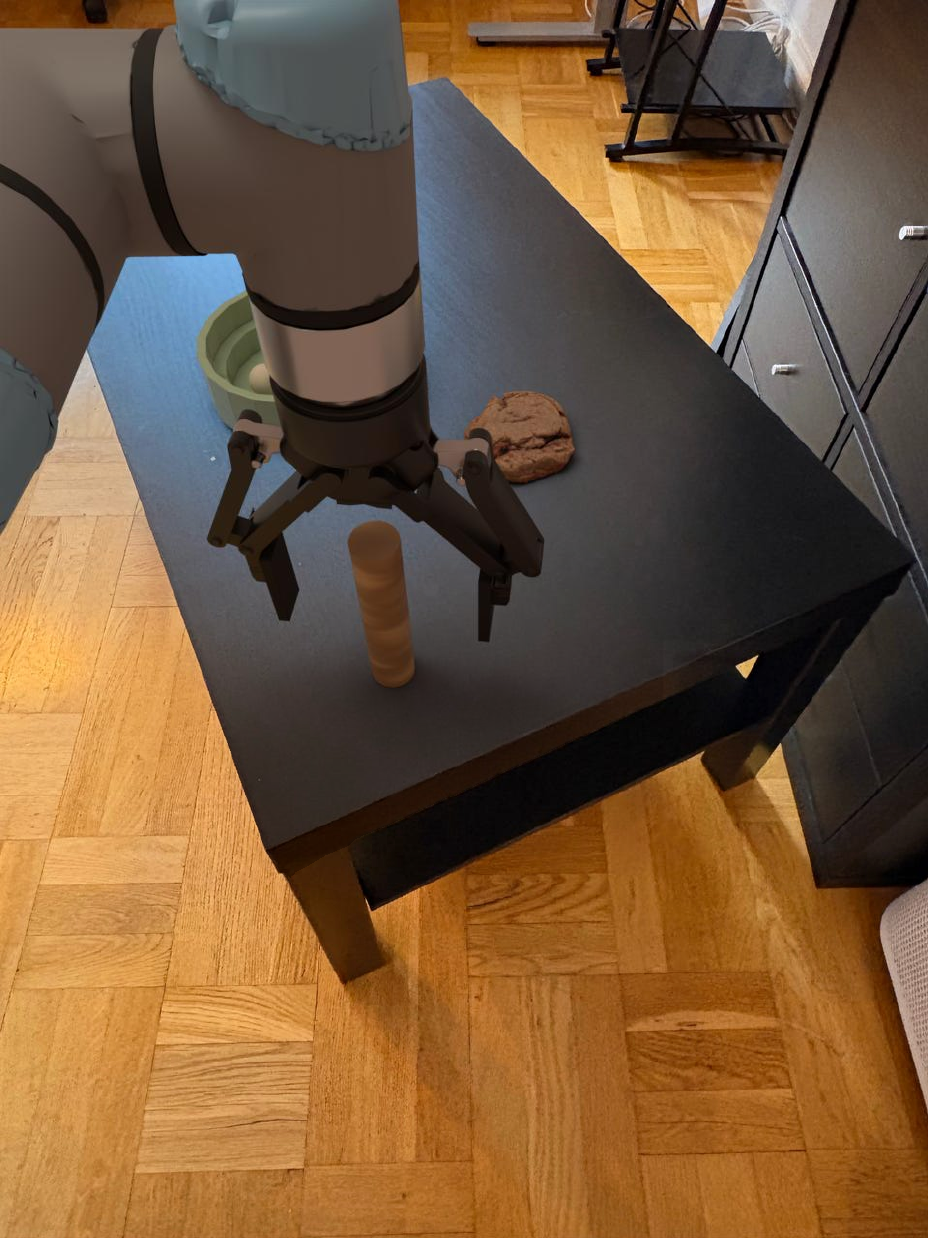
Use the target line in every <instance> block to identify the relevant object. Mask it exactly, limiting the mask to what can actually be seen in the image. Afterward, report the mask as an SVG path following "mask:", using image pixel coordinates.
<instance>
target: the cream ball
mask: <svg viewBox="0 0 928 1238" xmlns="http://www.w3.org/2000/svg"><path fill="white" fill-rule="evenodd" d="M249 383H250V386H251V388H252V390H253V391H254V392H255V393H256V394H264V395H273V393H272V389H271V385H270V381H269V373H268V371H267V369H266V367H265V364H259V365H257V366H255V367H254V368H253V369H252V371H251V372H250V375H249Z"/></svg>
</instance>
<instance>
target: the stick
mask: <svg viewBox="0 0 928 1238" xmlns="http://www.w3.org/2000/svg"><path fill="white" fill-rule="evenodd" d="M402 547H403V546H402V539H401V534H400V532H399V530H398V529H397V528H396V527H395V526H394V525H393V524H391V523H389V522H386V521H384V520H383V521H382V520H369V521H365V522H362V523H360V524H359V525H357V526H356V527H355V528H353V529H352V530H351V531H350V533H349V535H348V538H347V548H348V554H349V557H350V558H349V559H350V563H351V569H352V574H353V579H354V580H353V581H354V585H355V589H356V594H357V600H358V605H359V610H360V616H361V621H362V627H363V631H364V637H365V642H366V647H367V652H368V658H369V664H370V668H371V673H372V676H373V679H374V680H375V681H376V682H377V683H378V684H380V685H381V686H382V687H386V688H399V687H401V686H404V685H406V684H407V683H408V682H410V681H411V680H412V678H413V676H414V675H415V672H416V671H415V670H416V667H415V657H414V646H413V639H412V630H411V619H410V611H409V603H408V593H407V584H406V575H405V565H404V557H403V548H402Z"/></svg>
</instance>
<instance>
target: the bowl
mask: <svg viewBox="0 0 928 1238" xmlns="http://www.w3.org/2000/svg"><path fill="white" fill-rule="evenodd" d="M196 359H197V363H198V365H199V368H200V371H201V374H202V377H203V379H204V380H203V381H204V383H205V386H206V391H207V393H208V396H209V398H210V402H211V404H212V406H213V408H214V410H215V412H216V413H217V415H218V417H219V419H220V420H221V422H222V423H224V424H225V425H226V426H228V427H229V428H231V430H232V431H233V430H234V427H235V425H236V423H237V420H238V418H239V415H240V413H241V412H242V411H243V410H245V409H250V410H253V411H255V412H257V413H258V414H259V415H260V416H261V418H262V422H263V424H266V425H272V426H278V427H281V424H280V421H279V417H278V413H277V409H276V405H275V401H274V397H273V395H264V394H256V393H255V392H254V391H253V390H252V388H251V386H250V383H249V375H250V372H251V371H252V369H253V368H254V367H255V366H257V365H259V364H264V360H263V356H262V352H261V347H260V343H259V339H258V334H257V330H256V326H255V321H254V317H253V313H252V309H251V304H250V300H249V296H248V294H247V291H246V289H245V290H244V291H241V292H240V293H238V294H236V295H234V296H233V297H231V298H229V299H228V300H227V299H226V301H224V302H222V303H221V304H220V305H219V306H218V307H217V308H216V309H215V310H214V311H213V312H211V314H210V315H209V316H207V318H206V319H205V320H204V323H203V325H202V327H201V329H200V330H199V333H198V335H197V337H196Z"/></svg>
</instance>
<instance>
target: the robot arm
mask: <svg viewBox="0 0 928 1238" xmlns="http://www.w3.org/2000/svg"><path fill="white" fill-rule="evenodd" d="M173 5H174V6H173V8H174V12H175V16H176V17H175V18H176V20H175V24H171V25H167V26H165V27H164V28H157V27H156V28H154V27H153V28H152V27H150V28H54V27H53V28H50V27H49V28H45V27H43V28H41V27H40V28H35V27H33V28H31V27H30V28H27V27H25V28H24V27H21V28H19V27H17V28H16V27H0V536H2V534H3V532H4V531H5V529H6V527H7V525H8V524H9V522H10V520H11V518H12V516H13V514H14V513H15V511H16V508H17V507H18V505H19V503H20V501H21V499H22V497H23V495H24V493H25V491H26V490H27V488H28V486H29V485H30V482H31V481H32V478H33V477H34V476H35V473H36V472H38V470H39V469H40V467H41V465H42V463H43V461H44V459H45V456H46V455H47V454H48V453H50V452H51V451H52V450H53V448H54V446H55V443H56V440H57V435H58V428H59V417H60V415H61V412H62V409H63V408H64V405H65V402H66V400H67V397H68V394H69V393H70V390H71V387H72V385H73V383H74V380H75V378H76V376H77V374H78V371H79V368H80V367H81V363H82V362H83V359H84V357H85V354H86V351H87V349H88V347H89V344H90V342H91V340H92V337H93V336H94V334H95V331H96V329H97V327H98V325H99V323H100V322H101V320H102V318H103V315H104V313H105V311H106V308H107V306H108V303H109V301H110V300H111V299H110V298H111V296H112V294H113V292H114V289H115V287H116V284H117V283H118V280H119V277H120V275H121V272H122V270H123V268H124V265H125V263H126V260H127V259H128V258H155V257H156V258H162V257H163V258H164V257H165V258H167V257H168V258H169V257H171V258H173V257H206V256H208V255H235V258H236V259H237V262H238V265H239V268H240V269H241V276H242V280H243V283H244V287H245V290H246V291H247V294H248V296H249V300H250V304H251V309H252V313H253V317H254V321H255V326H256V330H257V334H258V339H259V343H260V347H261V352H262V356H263V360H264V364H265V367H266V369H267V371H268V373H269V381H270V385H271V389H272V393H273V397H274V401H275V405H276V409H277V413H278V417H279V421H280V424H281V427H278V426H272V425H266V424H263V422H262V418H261V416H260V415H259V414H258V413H257V412H255V411H253V410H250V409H245V410H243V411H242V412H241V413H240V415H239V418H238V420H237V423H236V425H235V427H234V430H233V429H232V432H231V435H230V437H229V439H228V442H227V444H226V445H227V446H226V447H227V454H228V458H229V463H230V472H229V475H228V478H227V481H226V483H225V486H224V488H223V491H222V494H221V497H220V500H219V503H218V505H217V508H216V511H215V513H214V517H213V519H212V522H211V525H210V528H209V530H208V534H207V536H206V541H207V543H208V544H209V545H210V546H212V547H215V548H218V549H222V548H225V547H226V546H227V544H228V545H230V546H234V547H235V548H237V550H238V552H239V553H240V554H241V555H243V556H244V558H245V560H246V564H247V566H248V568H249V571H250V575H251V576H252V578H253V579H254V580H255V582H256V583H257V582H258V583H265V584H266V587H267V591H268V593H269V596H270V599H271V601H272V604H273V608H274V610H275V613H276V616H277V619H278V621H281V622H291V619H292V615H293V612H294V608H295V606H296V602H297V600H298V596H299V592H300V587H299V584H298V581H297V580H298V579H297V577H296V573H295V569H294V567H293V563H292V560H291V557H290V553H289V549H288V546H287V543H286V539H285V536H284V531H286V529H288V528H289V527H290V526H291V525H292V524H293V523H294V522H296V520H297V519H299V518H300V517H301V516H302V515H303V514H304V513H308V514H309V513H311V512H312V511H313V510H314V509H315V508H316V507H317V506H318V505H319V504H321V503H322V502H323V501H324V500H325V499H326V498H328V499H332V500H334V501H335V502H336V505H340V506H341V505H342V506H359V505H360V506H361V505H365V506H368V507H372V508H376V509H384V510H392V509H393V506H395V507H396V508H397V509H398V510H400V511H401V512H402V513H403V514H405V515H406V517H408V518H410V519H411V520H412V521H413V522H414V523H417V524H419V523H421V522H424V523H425V524H426V525H427V526H429V527H430V528H431V529H432V530H434V531H435V532H436V533H437V534H438V535H439V536H441V537H442V538H443V539H444V540H446V541H447V542H448V543H449V544H450V545H451V546H453V548H455V549H456V550H458V551H459V552H460V553H461V554H462V555H463V556H465V557H466V558H467V559H468V560H470V561H471V562H472V563H473V564H474V565H476V567H478V568H479V572H478V573H479V574H478V579H477V580H478V581H477V642H483V643H490V639H491V633H492V626H493V620H494V611H495V606H501V607H507V606H508V604H509V603H510V602H511V595H512V593H511V592H512V586H513V576H515V575H517V574H522V575H523V576H525V577H526V578H537V577H539V576H541V574H542V568H543V557H544V547H545V539H544V536H543V535H542V532H541V531H540V529H539V527H538V526H537V525H536V523H535V522H534V520H533V518H532V517H531V516H530V514H529V512H528V511H527V509H526V507H525V506H524V504H523V502H522V501H521V499H520V498H519V496H518V495H517V493H516V492H515V490H514V488H513V486H512V485H511V482H510V481H508V480H507V479H506V477H505V475H504V474H503V472H502V471H501V469H500V468H499V466H498V464H497V463H496V461H495V460H494V453H493V445H492V438H491V434H490V432H488V431H487V430H486V429H484V428H474V429H473V430H471V431H470V433H469V437H468V440H464V439H440V437H439V436H438V435H437V434H436V432H435V431H434V430H433V427H432V425H431V417H430V415H431V414H430V402H429V401H430V399H429V385H428V384H429V383H428V368H427V359H426V355H425V348H426V337H425V336H426V335H425V321H424V304H423V290H422V289H423V288H422V273H421V266H420V251H419V250H420V247H419V228H418V227H419V226H418V206H417V205H418V204H417V183H416V162H415V161H416V160H415V143H414V142H415V140H414V139H415V137H414V121H413V120H414V119H413V117H414V116H413V115H414V112H413V110H414V109H413V99H412V95H411V94H410V91H409V81H408V73H407V63H406V54H405V46H404V35H403V27H402V26H403V25H402V18H401V8H400V5H399V0H173ZM278 453H279V454H280V455H281V457H282V458H283V460H284V461H285V462H286V463H287V464H288V465H290V466H291V467H292V468H293V470H295V471H294V472H293V473H292V474H291V475H290V476H289V477H287V479H286V480H285V481H284V482H283V483H282V484H281V485H280V486H279V487H278V488H277V489H276V490H275V491H274V492H273V493H272V494H271V495H270V496H269V497H267V499H266V500H265V501H263V503H262V504H261V505H260V506H259V507H258V508H257V509H256V510H255V507H252V509H251V511H250V515H249V517H244V516H242V515H241V516H240V511H241V509H242V507H243V504H244V502H245V500H246V496H247V494H248V492H249V489H250V488H251V484H252V482H253V479H254V476H255V474H256V472H257V469H261V468H262V466H263V465H264V464H267V463H269V462H270V460H271V458H272V457H273V455H274V454H278ZM440 467H444V468H447V469H448V470H449V471H450V472H451V473H452V475H453V476H454V477H455V478H456V479H455V484H457V486H459V487H465V488H466V492H467V495H468V496H469V498H470V500H471V502H472V503H471V502H470V501H468V499H466V498H465V497H464V496H463V495H461V494H460V493H459V492H458V491H457V490H456V489H455V488H454V487H452V485H450V484H449V483H448V482H447V481H446V479H445V475H444V473H443V471H442V469H440ZM472 504H473V505H472Z"/></svg>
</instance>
